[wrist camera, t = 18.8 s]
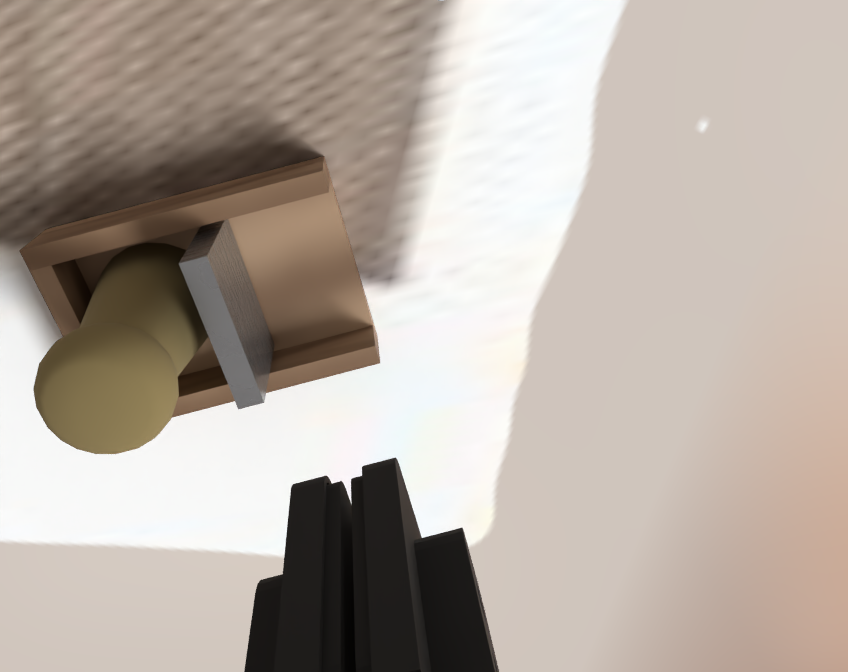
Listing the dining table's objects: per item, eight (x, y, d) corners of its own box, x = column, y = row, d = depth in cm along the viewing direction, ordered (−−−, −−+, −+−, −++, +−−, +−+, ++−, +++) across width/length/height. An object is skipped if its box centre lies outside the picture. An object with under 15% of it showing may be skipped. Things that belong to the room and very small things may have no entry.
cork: (94, 342, 38) (6, 468, 28) (101, 231, 35) (8, 324, 25) (214, 362, 39) (171, 488, 29) (229, 255, 36) (188, 352, 26)
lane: (46, 229, 36) (19, 250, 33) (323, 156, 36) (322, 170, 33) (129, 400, 40) (112, 433, 37) (377, 335, 40) (380, 362, 37)
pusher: (203, 222, 35) (178, 263, 30) (226, 216, 35) (206, 256, 30) (252, 351, 39) (238, 409, 33) (274, 345, 39) (264, 402, 33)
